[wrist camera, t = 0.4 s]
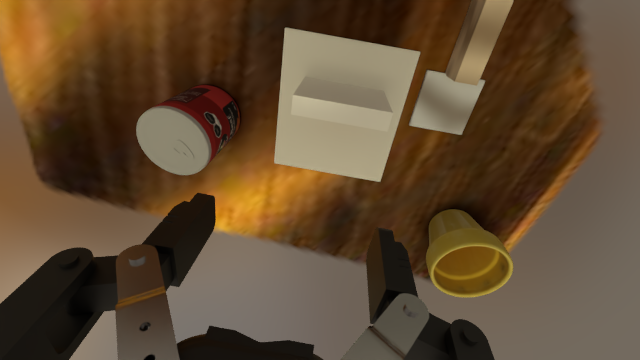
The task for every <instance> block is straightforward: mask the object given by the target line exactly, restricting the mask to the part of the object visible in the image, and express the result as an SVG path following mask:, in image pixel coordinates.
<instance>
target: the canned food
mask: <svg viewBox="0 0 640 360" xmlns="http://www.w3.org/2000/svg"><path fill="white" fill-rule="evenodd" d="M239 124H240V113H239V109H238V107H237V104H236V103H235V101H234V100H233V99H232V97H231V96H230V95H229V94H227V93H226V92H225V91H223V90H222V89H220V88H217V87H214V86H209V85H199V86H196V87H193V88H191V89H189V90H187V91H185V92H183V93H181V94H179V95H177V96H175V97H173V98H170V99H168V100H166V101H164V102H162V103H160V104H158V105H156V106H155V107H152V108H151V109H149V110H147V111H146V112H145V113H143V115H142V116H141V117H140V118H139V120H138V122H137V127H136V132H137V138H138V141H139V144H140V146H141V148H142V149H143V151H144V152H145V154H146V155H147V156H148V157H149V158H150V159H151V160H152V161H153V162H154V163H155V164H156V165H158V166H159V167H161V168H162V169H164V170H166V171H168V172H171V173H174V174H179V175H190V174H195V173H197V172H199V171H200V170H202V169H203V168H204V167H205V166H206V165H207V164H208V163H209V162H210V161H211V160H212V159H213V158H214V157H215V156H216V155H217V154H218V153H219V151H220V150H221V149H222V148H223V147H224V146H225V145H226V144H227V143H228V141H229V140H230V139H231V138H232V137H233V136H234V135H235V134H236V132H237V131H238V128H239Z"/></svg>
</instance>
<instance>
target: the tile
mask: <svg viewBox="0 0 640 360" xmlns="http://www.w3.org/2000/svg"><path fill="white" fill-rule="evenodd" d="M291 115H297V116H303V117H308V118H314V119H319V120H325V121H330V122H336V123H341V124H347V125H353V126H358V127H364V128H369V129H375V130H380V131H386V132H388V129H389V125H390V122H391V118H392V115H393V111H392V109H391V107H390V104H389V102H388V100H387V97H386V95H385V93H384V91H382V90H377V89H371V88H366V87H360V86H355V85H349V84H344V83H338V82H332V81H327V80H321V79H316V78H310V77H304V79H303V80H302V82H301V83H300V85H299V86H298V88H297V89H296V91H295V92H294V94H293V99H292V108H291Z"/></svg>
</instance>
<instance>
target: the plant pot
mask: <svg viewBox="0 0 640 360" xmlns="http://www.w3.org/2000/svg"><path fill="white" fill-rule="evenodd" d="M426 262H427V267H428V271H429V274H430V277H431V280H432V282H433V284H434V285H435V286H436V287H437V288H438V289H439V290H440V291H442V292H444V293H446V294H448V295H452V296H457V297H477V296H482V295H486V294H488V293H491V292H493V291H495V290H497V289H499V288H500V287H502V286H503V285H504V284H505V283H506V282H507V281H508V280H509V278H510V277H511V275H512V272H513V262H512V259H511V257H510V255H509V253H508V252H507V250H506V248H505V247H504V246H503V244H502V243H501V241H500V240H499V239H498V238H497V237H496V236H495V235H493V234H492V233H490V232H488V231H485V230H484V229H483V228H482V227H481V226H480V225H479V224H478V223H477V222H476V221H475V220H474V219H473V218H472V217H471V216H470V215H469V214H467V213H466V212H464V211H461V210H457V209H449V210H445V211H442V212H440V213H438V214H437V215H435V216H434V217H433V218H432V220H431V221H430V224H429V248H428V250H427V254H426Z"/></svg>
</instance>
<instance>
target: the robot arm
mask: <svg viewBox="0 0 640 360" xmlns="http://www.w3.org/2000/svg"><path fill="white" fill-rule="evenodd" d="M215 220H216V219H215V198H214V196H212V195H207V194H201V193H197V194H196V195H195V196H194V197H193V199H192V200H191V201H190V202H187V201H184V202H182V203H180V204H178V205H176V206H175V207H174V208H173V209H172V210H171V211H170V212H169V213H168V216H166V217H165V218H164V219H163V221H162V222H161V223H160V224H159V225H158V226H157V227H156V228H155V230H154V231H153V232H152V233H151V234H150V235H149V236H148V237H147V239H146V240H145V241H144V242H143V243H142V244H141V245H135V246H132V247H129V248H127V249H126V250H124V251H123V252H121V253H120V254H119V255H118V256H106V257H93V254H92V252H91V251H90V250H88V249H86V248H71V249H67V250H64V251H61V252H59V253H57V254H55V255H54V256H52V257H51V258H50V259H49V260H48V261H47V262H45V263H44V264H43V265H42V266H41V267H40V268H39V269H38V270H37V271H36V272H35V273H34V274H32V275H31V276H30V277H29V278H28V279H27V280H26V281H25V282H24V283H23V284H21V285H20V287H18V288H17V289H16V290H15V291H14V292H13V293H12V294H11V295H9V296H8V297H7V298H6V299H5V300H4V301H3V302H2V303H1V304H0V360H69V359H70V357H71V356H72V355H73V353H74V352H75V351H76V349H77V348H78V346H79V345H80V344H81V342H82V341H83V339H84V338H85V337H86V335H87V334H88V333H89V331H90V330H91V329H92V327H93V326H94V325H95V323H96V322H97V320H98V319H99V318H100V316H101V315H102V313H103V312H104V311H111V310H115V311H116V329H117V349H118V360H323V359H322V358H320V357H319V356H317V355H315V354H313V349H314V345H311V344H305V343H300V342H295V341H290V340H287V341H274V342H258V341H256V340H253V339H251V338H250V337H247V336H245V335H243V334H241V333H239V332H237V331H235V330H230V329H224V328H219V327H214V326H209V329H208V331H207V333H206V334H203V335H198V336H194V337H190V338H188V339H185V340H183V341H181V342H179V343H177V344H176V340H175V335H174V330H173V325H172V320H171V315H170V310H169V305H168V300H167V295H166V291H167V289H168V288H169V286H170V285H171V286H176V287H179V286H180V284H181V283H182V281H183V280H184V278H185V276H186V275H187V273H188V271H189V270H190V268H191V266H192V265H193V263H194V261H195V260H196V258H197V256H198V255H199V253H200V252H201V250H202V248H203V247H204V245H205V243H206V242H207V240H208V238H209V237H210V235H211V233H212V232H213V229H214V226H215ZM366 265H367V280H368V295H369V310H370V323H371V324H373V326H369V327H368V328H367V329H366V330H365V331H364V332H363V333H362V335H361V336H360V337H359V338H358V339H357V341H356V342H355V343H354V344H353V345H352V347H351V348H350V349H349V350H348V351H347V352H346V354H345V355H344V356H343V357H342V358H341V360H494V357H493V354H492V351H491V349H490V346H489V343H488V340H487V338H486V336H485V335H484V334H483V332H482V331H481V330H480V329H479V328H478V327H477V326H476V325H474V324H473V323H471V322H469V321H466V320H462V319H458V320H455V321H454V322H452V324H450V323H448V322H446V321H444V320H442V319H440V318H438V317H436V316H434V315H432V314H431V313H429V312H428V309H427V307H426V305H425V304H424V303H423V302H422V301H421V300H420V299H419V298H418V295H417V291H416V287H415V282H414V278H413V274H412V270H411V265H410V262H409V257H408V253H407V250H406V249H405V248H404V246H403V245H402V243H400V242H395V241H394V236H393V231H392V230H388V229H383V228H376V229H375V232H374V234H373V237H372V240H371V243H370V245H369V248H368V252H367V258H366Z"/></svg>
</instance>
